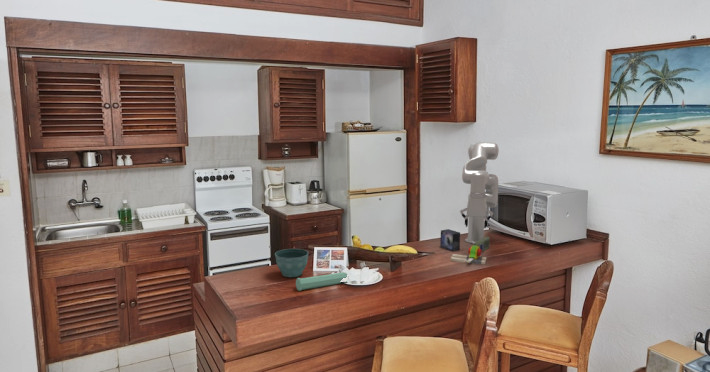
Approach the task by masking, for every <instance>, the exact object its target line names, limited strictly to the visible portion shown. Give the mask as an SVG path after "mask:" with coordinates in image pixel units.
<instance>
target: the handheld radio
mask: <svg viewBox="0 0 710 372" xmlns="http://www.w3.org/2000/svg"><path fill="white" fill-rule="evenodd" d="M473 245H475V246H479V247H480V249H481V250H482V252H484V251H486V250H488V249H489V248H490V237H489V236H484V238H483V239H481V240H479V241H477V242H475V243H474V244H473Z"/></svg>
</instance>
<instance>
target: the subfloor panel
mask: <svg viewBox="0 0 710 372" xmlns="http://www.w3.org/2000/svg"><path fill="white" fill-rule="evenodd" d="M465 260H467V261H468V260H469V254H468V255H466V254H456V253H452V255H451V257H450V262H457V263H465ZM486 262H487V256H479V257H478V258H477V259H476V260H474V259H473V260H472V261H471V262H469V263H468V264H477V265H486Z"/></svg>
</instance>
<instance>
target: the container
mask: <svg viewBox="0 0 710 372" xmlns="http://www.w3.org/2000/svg"><path fill="white" fill-rule="evenodd" d="M347 275H348V273H347V272H343V271H342V272H337V273H329V274H321V275H315V276H310V277H309V276H308V277H302V278H300V277H296V280H295V287H296V290H297V291H299V292H301V291H302V290H303V291H304V290H309V289H315V288H316V289H317V288H321V287H322V288H323V287H326V286H327V287H328V286H333V285H337V284H342V283H341V282H340V281H341V280H342V279H343V278H346V277H347Z"/></svg>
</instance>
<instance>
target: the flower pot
mask: <svg viewBox="0 0 710 372" xmlns="http://www.w3.org/2000/svg"><path fill="white" fill-rule="evenodd" d="M274 256H275V261H276V262H275V263H276V265H277V268H278V269H279V271H280V273H281V275H282V277H285V278H298V277H300V276H301V275H302V274H303V271H304V270H305V268H306V266H308V265H307V264H308V259H309V251H308V250H305V249H303V248H302V249H300V248H286V249H281V250H278V251H276V252H275V253H274Z"/></svg>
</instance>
